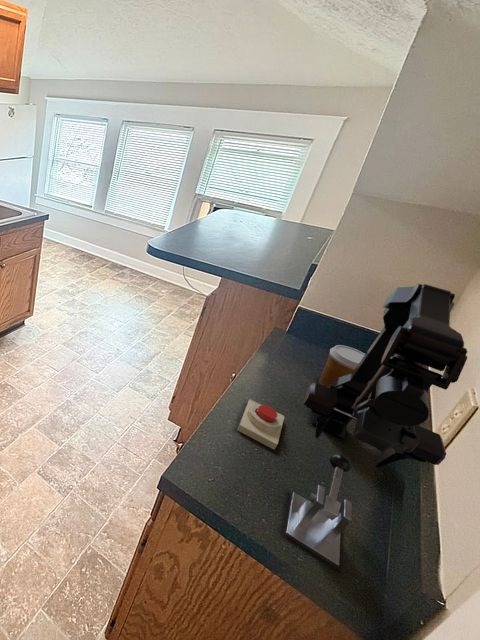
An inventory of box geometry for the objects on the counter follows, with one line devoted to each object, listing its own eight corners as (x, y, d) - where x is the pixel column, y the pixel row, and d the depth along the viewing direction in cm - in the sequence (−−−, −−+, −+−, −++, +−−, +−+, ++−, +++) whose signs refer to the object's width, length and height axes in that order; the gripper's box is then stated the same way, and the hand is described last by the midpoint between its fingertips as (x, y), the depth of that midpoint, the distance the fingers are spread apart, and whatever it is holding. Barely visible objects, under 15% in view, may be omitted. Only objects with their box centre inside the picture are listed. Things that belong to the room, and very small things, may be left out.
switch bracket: (290, 495, 79) (310, 468, 75) (338, 522, 75) (362, 495, 71) (283, 535, 72) (305, 508, 67) (336, 569, 67) (362, 541, 63)
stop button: (257, 407, 96) (260, 402, 95) (275, 416, 94) (278, 411, 93) (254, 416, 93) (257, 411, 92) (273, 425, 91) (276, 420, 90)
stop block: (246, 405, 102) (252, 394, 100) (280, 422, 97) (287, 410, 95) (236, 431, 93) (242, 419, 91) (273, 451, 89) (281, 439, 87)
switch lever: (328, 454, 78) (335, 448, 75) (348, 464, 76) (356, 458, 74) (313, 510, 71) (320, 505, 69) (334, 523, 69) (342, 517, 67)
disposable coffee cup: (312, 371, 117) (332, 339, 112) (351, 386, 112) (373, 354, 107) (311, 386, 111) (331, 354, 105) (352, 404, 105) (376, 371, 100)
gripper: (323, 386, 65) (283, 447, 72) (480, 453, 55) (415, 515, 62) (326, 357, 73) (290, 414, 80) (464, 410, 63) (408, 470, 70)
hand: (345, 450), depth 73 cm, fingers open, 9 cm apart
